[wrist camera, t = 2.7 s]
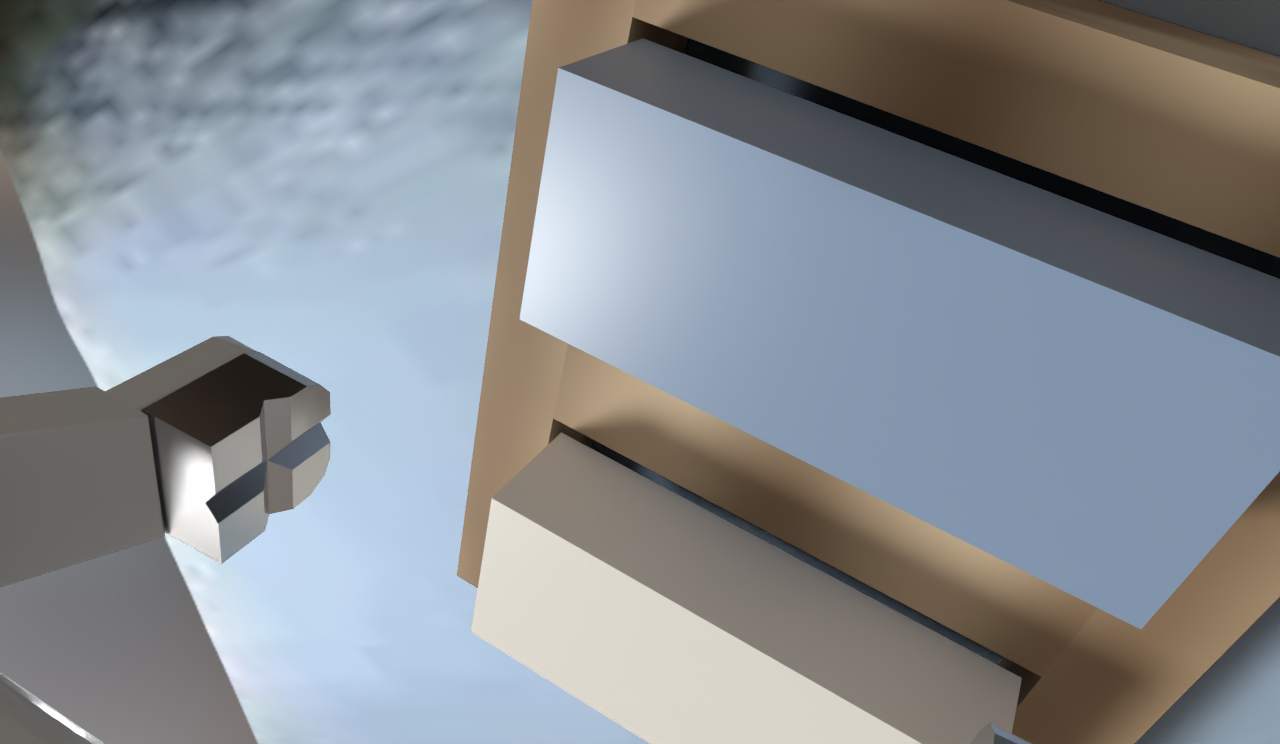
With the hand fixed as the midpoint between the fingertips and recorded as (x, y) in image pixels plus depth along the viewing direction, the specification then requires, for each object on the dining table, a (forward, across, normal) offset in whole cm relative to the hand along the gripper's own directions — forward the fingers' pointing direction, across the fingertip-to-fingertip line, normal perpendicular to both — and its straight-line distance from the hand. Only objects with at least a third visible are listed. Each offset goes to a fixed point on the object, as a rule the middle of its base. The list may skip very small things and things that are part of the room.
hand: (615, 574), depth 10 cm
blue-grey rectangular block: (+9, -1, -1) cm, 9 cm away
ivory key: (+9, -1, +9) cm, 13 cm away
